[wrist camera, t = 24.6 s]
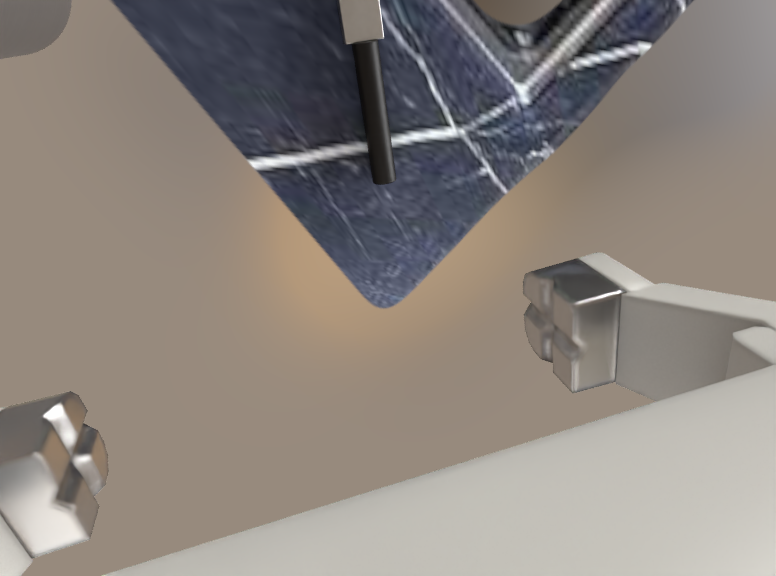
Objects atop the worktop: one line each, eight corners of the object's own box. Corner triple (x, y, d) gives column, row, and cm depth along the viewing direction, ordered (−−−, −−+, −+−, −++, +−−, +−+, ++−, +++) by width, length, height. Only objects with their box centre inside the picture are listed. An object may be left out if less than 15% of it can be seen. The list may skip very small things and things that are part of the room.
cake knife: (398, 174, 48) (404, 180, 46) (365, 181, 47) (370, 187, 45) (350, -193, 36) (356, -204, 34) (305, -189, 36) (309, -200, 34)
